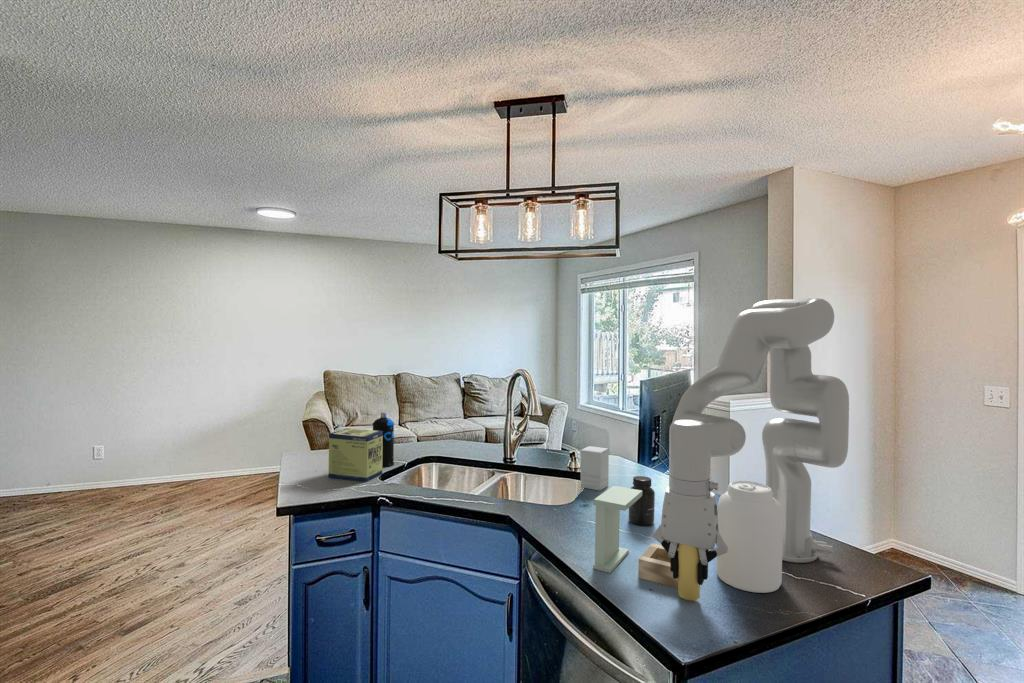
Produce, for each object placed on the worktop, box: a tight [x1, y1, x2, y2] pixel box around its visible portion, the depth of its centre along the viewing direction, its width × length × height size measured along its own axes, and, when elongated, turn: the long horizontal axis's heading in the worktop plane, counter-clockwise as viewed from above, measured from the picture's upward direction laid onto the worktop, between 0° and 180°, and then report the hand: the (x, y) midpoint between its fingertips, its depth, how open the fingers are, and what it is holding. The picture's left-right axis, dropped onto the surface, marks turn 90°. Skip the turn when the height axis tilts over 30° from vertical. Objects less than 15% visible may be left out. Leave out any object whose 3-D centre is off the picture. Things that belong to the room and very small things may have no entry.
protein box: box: [328, 427, 383, 483], centre depth 181 cm, size 10×16×16 cm
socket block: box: [637, 542, 678, 589], centre depth 110 cm, size 10×10×4 cm
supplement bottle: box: [628, 475, 656, 527], centre depth 141 cm, size 7×7×12 cm
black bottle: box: [372, 411, 395, 468], centre depth 196 cm, size 8×8×20 cm
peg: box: [677, 544, 701, 601], centre depth 100 cm, size 4×4×12 cm
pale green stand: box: [592, 485, 642, 574], centre depth 116 cm, size 7×12×15 cm, turn 149°
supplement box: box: [580, 445, 610, 492], centre depth 172 cm, size 7×7×13 cm
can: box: [716, 480, 783, 594], centre depth 109 cm, size 12×12×20 cm
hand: (688, 577), depth 100 cm, fingers closed on peg, 4 cm apart
